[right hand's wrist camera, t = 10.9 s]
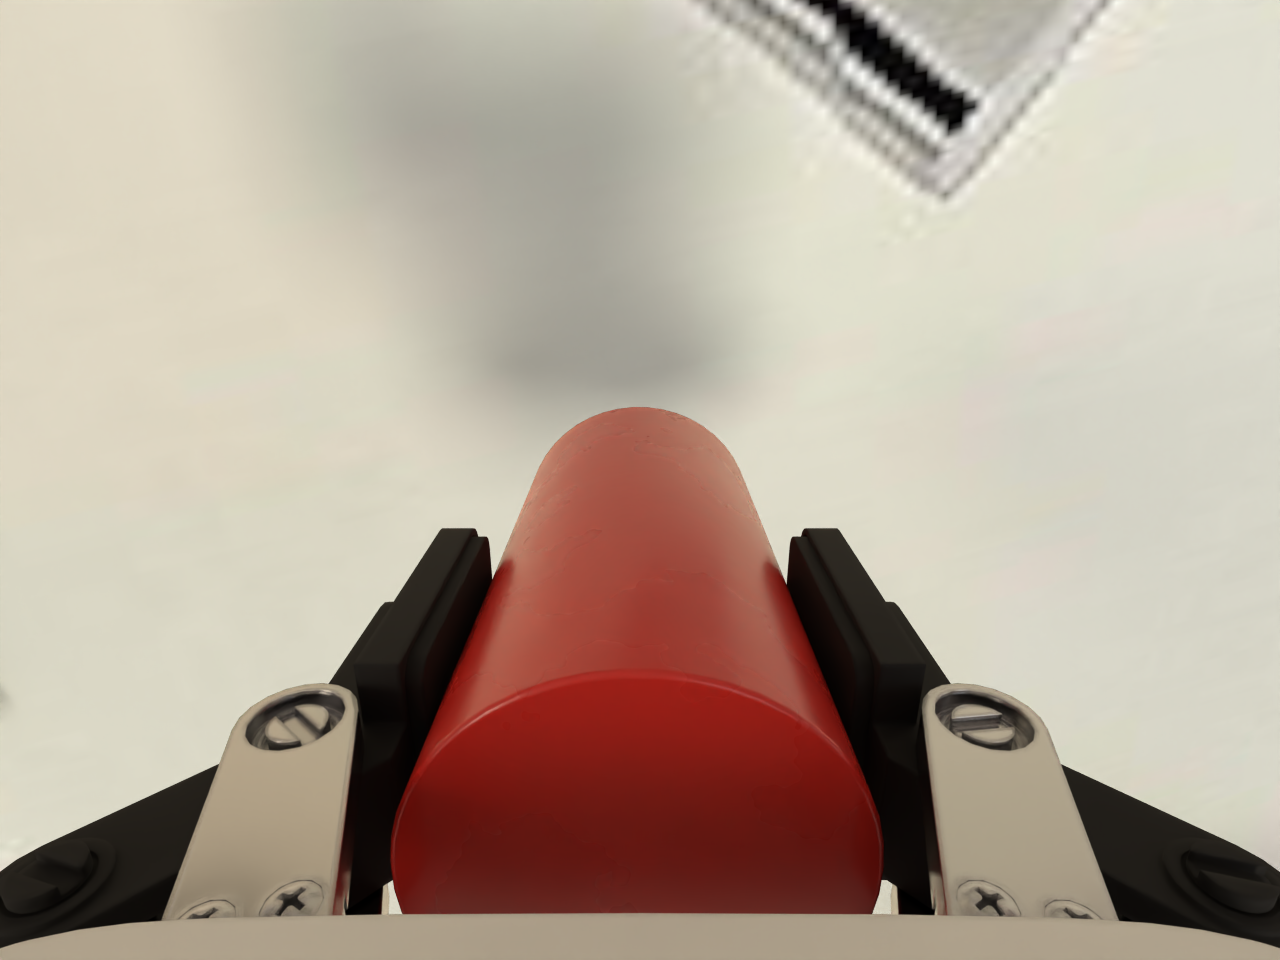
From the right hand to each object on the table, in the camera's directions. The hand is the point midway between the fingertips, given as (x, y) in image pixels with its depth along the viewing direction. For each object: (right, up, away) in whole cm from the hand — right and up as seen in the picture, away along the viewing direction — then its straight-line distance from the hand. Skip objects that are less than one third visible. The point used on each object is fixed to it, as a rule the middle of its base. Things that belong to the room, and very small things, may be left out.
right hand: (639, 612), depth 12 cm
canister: (0, +2, +4) cm, 5 cm away
